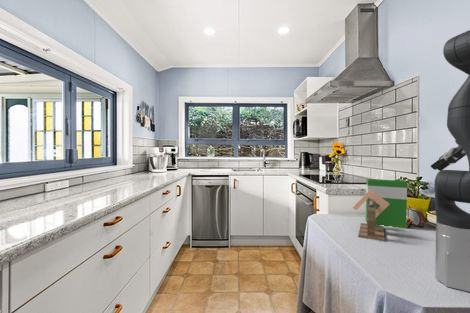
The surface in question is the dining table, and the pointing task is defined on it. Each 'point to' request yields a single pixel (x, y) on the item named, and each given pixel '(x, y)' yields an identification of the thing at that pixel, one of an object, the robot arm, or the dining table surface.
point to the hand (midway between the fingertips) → (434, 168)
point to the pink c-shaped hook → (375, 198)
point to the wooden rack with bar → (371, 225)
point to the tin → (417, 217)
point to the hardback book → (389, 201)
